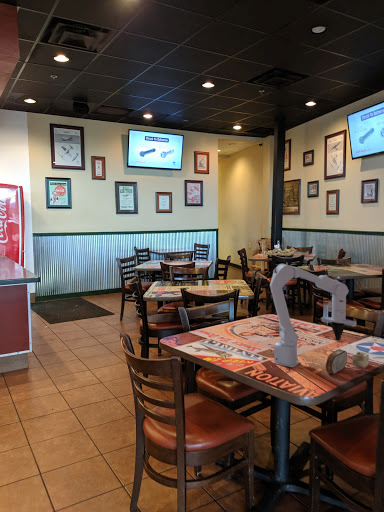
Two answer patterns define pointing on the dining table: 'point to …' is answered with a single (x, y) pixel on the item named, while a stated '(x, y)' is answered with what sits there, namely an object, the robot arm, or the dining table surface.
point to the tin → (336, 361)
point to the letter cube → (360, 359)
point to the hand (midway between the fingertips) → (338, 339)
